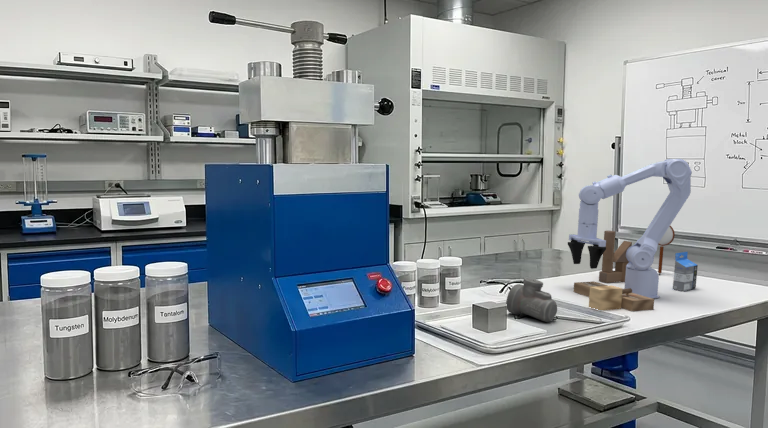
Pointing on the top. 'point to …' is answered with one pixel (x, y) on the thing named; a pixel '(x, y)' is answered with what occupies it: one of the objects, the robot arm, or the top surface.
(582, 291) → the walnut plank
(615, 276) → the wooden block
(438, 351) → the top surface
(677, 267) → the label tape cartridge
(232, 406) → the top surface
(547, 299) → the grey electric motor
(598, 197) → the robot arm
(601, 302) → the light wood pillar
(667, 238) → the magnifying glass
